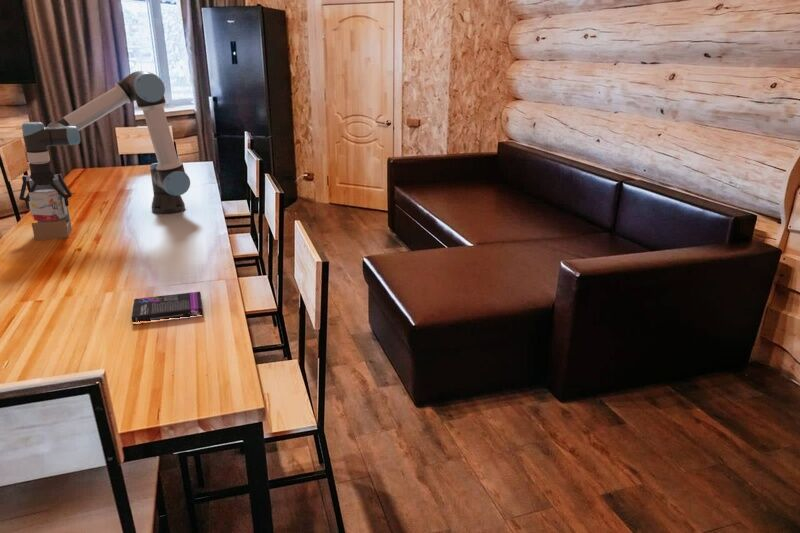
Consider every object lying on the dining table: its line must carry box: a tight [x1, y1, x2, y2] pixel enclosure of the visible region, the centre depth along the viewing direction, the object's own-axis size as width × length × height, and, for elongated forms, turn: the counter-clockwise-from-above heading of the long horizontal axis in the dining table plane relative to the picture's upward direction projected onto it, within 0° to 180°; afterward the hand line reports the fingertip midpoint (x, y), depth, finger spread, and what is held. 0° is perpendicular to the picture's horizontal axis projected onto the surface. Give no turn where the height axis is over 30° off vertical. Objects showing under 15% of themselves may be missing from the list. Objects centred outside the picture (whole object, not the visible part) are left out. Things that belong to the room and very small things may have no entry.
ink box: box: [28, 188, 66, 222], centre depth 237 cm, size 9×9×12 cm
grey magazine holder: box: [28, 178, 73, 241], centre depth 238 cm, size 12×13×22 cm
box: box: [130, 291, 204, 322], centre depth 175 cm, size 14×4×20 cm
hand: (49, 214), depth 239 cm, fingers closed on ink box, 11 cm apart
